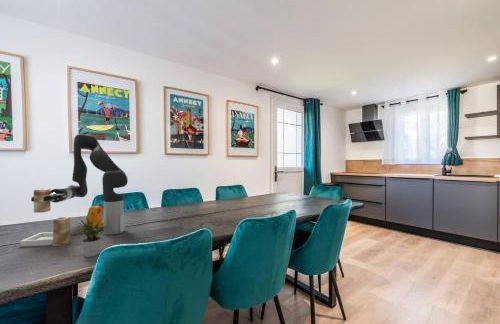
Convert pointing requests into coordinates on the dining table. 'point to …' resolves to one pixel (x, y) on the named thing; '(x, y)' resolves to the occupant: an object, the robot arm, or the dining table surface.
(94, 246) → the house plant
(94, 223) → the bracket
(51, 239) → the tray
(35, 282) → the dining table surface
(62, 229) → the oak post
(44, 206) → the maple post
